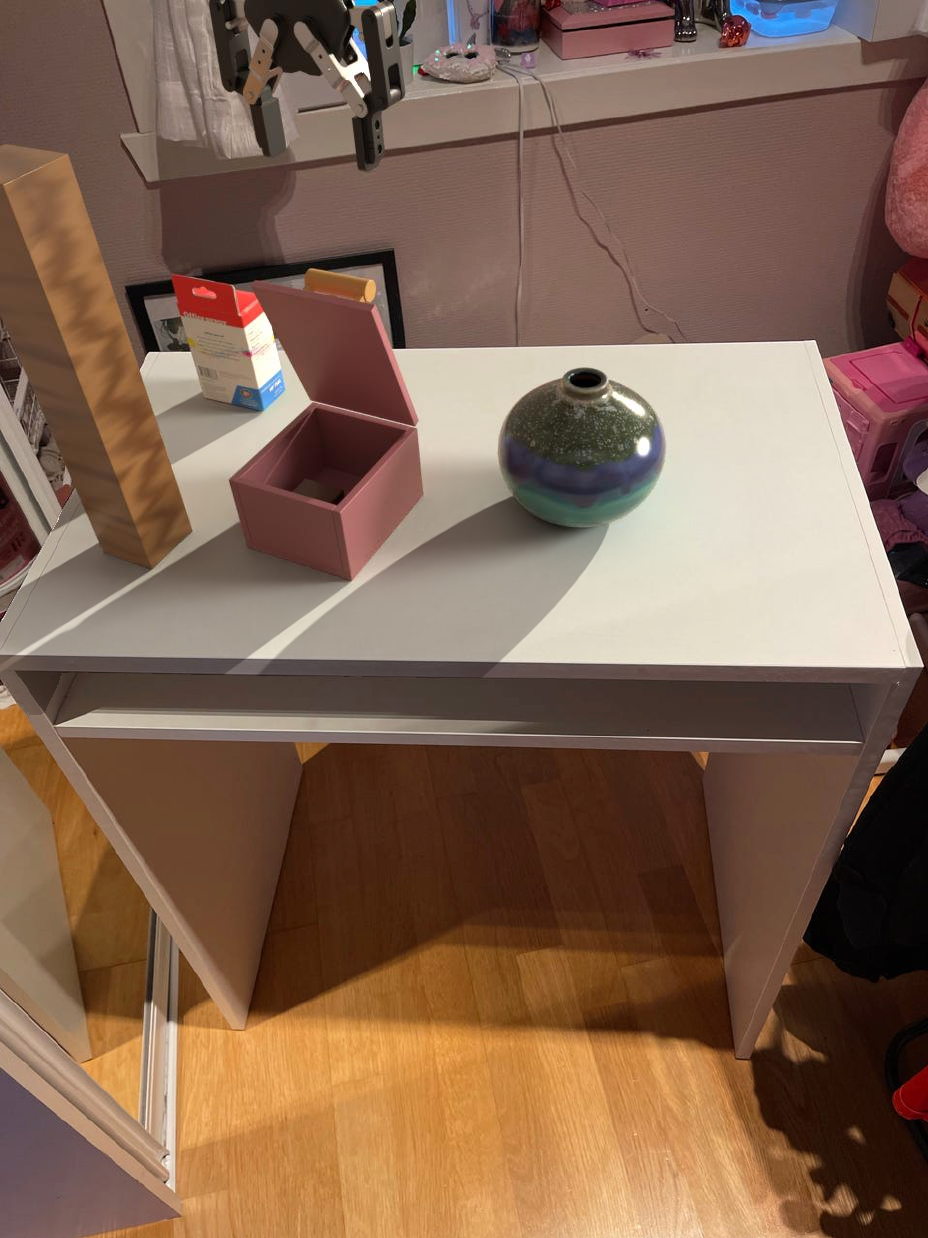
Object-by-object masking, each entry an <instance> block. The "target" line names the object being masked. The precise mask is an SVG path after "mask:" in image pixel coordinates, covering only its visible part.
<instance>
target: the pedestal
mask: <svg viewBox="0 0 928 1238" xmlns="http://www.w3.org/2000/svg"><path fill="white" fill-rule="evenodd" d="M101 252H102V251H101V249H100V247H99V243H98V241H97V237H96V234H95V231H94V228H93V226H92V222H91V220H90V216H89V213H88V210H87V207H86V204H85V201H84V198H83V195H82V192H81V189H80V185H79V183H78V180H77V177H76V174H75V170H74V168H73V164H72V162H71V159H70V156H69V154H68V153H66V152H65V153H64V152H59V151H51V150H46V149H40V148H33V147H27V146H20V145H14V144H7V143H5V144H3V145H1V146H0V318H1V320H2V322H3V324H4V327H5V330H6V331H7V334H8V336H9V338H10V340H11V344H12V345H13V348H14V350H15V352H16V354H17V356H18V359H19V362H20V364H21V366H22V368H23V371H24V373H25V375H26V377H27V380H28V382H29V385H30V387H31V389H32V391H33V394H34V396H35V398H36V401H37V403H38V406H39V408H40V410H41V412H42V414H43V416H44V417H43V418H44V420H45V421H46V425H47V426H48V428H49V430H50V433H51V435H52V438H53V440H54V442H55V444H56V447H57V449H58V452H59V454H60V456H61V458H62V461H63V463H64V465H65V468H66V470H67V472H68V475H69V477H70V479H71V482H72V484H73V486H74V489H75V490H76V493H77V495H78V497H79V500H80V503H81V504H82V508H83V509H84V511H85V514H86V516H87V518H88V521H89V523H90V526H91V528H92V530H93V533H94V534H95V537H96V539H97V542H98V544H99V546H100V548H101V550H102V551H101V552H103V553H105V554H108V555H110V556H114V557H116V558H119V559H122V560H125V561H128V562H131V563H133V564H136V565H139V566H141V567H145V568H148V569H150V570H153V569H154V568H156V566H158V564H160V562H162V561H163V560H164V559H165V558H166V557H167V556H168V555H169V554H170V553H171V552H173V550H174V549H175V548H176V547H178V546H179V545H180V544H181V543H182V542H183V541H185V539H186V538H188V536H189V535H190V534H191V533H193V531H194V529H193V527H192V524H191V521H190V518H189V515H188V511H187V508H186V506H185V502H184V500H183V497H182V494H181V491H180V488H179V484H178V481H177V479H176V475H175V473H174V470H173V465H172V463H171V462H170V461H171V460H170V458H169V455H168V452H167V449H166V446H165V442H164V439H163V436H162V434H161V430H160V428H159V424H158V421H157V419H156V415H155V412H154V410H153V407H152V403H151V399H150V397H149V393H148V390H147V388H146V386H145V383H144V379H143V376H142V373H141V370H140V368H139V363H138V361H137V358H136V355H135V352H134V349H133V346H132V343H131V340H130V337H129V334H128V331H127V328H126V324H125V322H124V318H123V316H122V313H121V309H120V307H119V304H118V301H117V298H116V295H115V291H114V289H113V286H112V281H111V280H110V276H109V273H108V270H107V267H106V264H105V262H104V258H103V256H102V253H101Z"/></svg>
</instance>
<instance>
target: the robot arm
mask: <svg viewBox="0 0 928 1238" xmlns="http://www.w3.org/2000/svg"><path fill="white" fill-rule="evenodd" d="M208 9H209V15H210V21H211V27H212V33H213V39H214V45H215V51H216V52H215V53H216V57H217V63H218V69H219V74H220V81H221V85H222V88H223V89H224V90H225V91H226V92H228V93H234V92H235V93H237V94H239V95H241V96H242V97H243V98H244V100H245V102H246V103H247V104H248V105H249V110H250V115H251V120H252V124H253V130H254V135H255V141H256V143H257V145H258V147H259V148H260V149H261V151H262V152H261V153H262V155H263V156H264V157H266V158H271V159H275V158H276V157H279V156H280V155H281V154H283V153H284V152H285V151H286V149H287V141H286V136H285V129H284V123H283V119H282V118H283V117H282V112H281V106H280V101H279V97H276V96H274V94H275V92H276V91H277V88H278V85H279V84H280V80H281V78H282V75H284V74H294V73H298V72H302V73H304V74H306V75H308V76H313V77H321V76H324V78H325V79H326V81H327V82H328V84H329V85H330V86H331V87H332V89H334V90H335V91H338V92H339V93H340V94H341V95H342V97H343V98H344V99H345V101H346V104H348V106H349V107H350V109H351V111H352V112H353V113H354V116H353V117H351V123H352V124H351V125H352V133H353V139H354V140H353V141H354V149H355V157H356V165H357V166H356V167H357V169H358V171H359V172H365V173H370V172H372V171H373V170H374V169H377V167H379V166H380V164H381V160H382V159H384V157H385V153H386V147H385V137H384V128H383V117H382V115H383V112H384V111H386V110H387V109H389V108H390V107H392V106H393V105H395V104H396V103H399V102H401V101H402V100H404V98H405V96H406V86H405V79H404V71H403V62H402V57H401V56H402V55H401V47H400V38H399V32H398V23H397V15H396V9H395V6H394V5H393V3H392V2H391V1H390V0H383V1H381V2H378V3H375V4H373V5H372V4H370V5H356V2H355V1H354V0H208ZM249 26H250V27H251V29H252V31H253V32H254V33H255V35H256V36H257V38H258V41H257V44H256V46H255V48H254V51H253V54H252V51H251V44H250V37H249V30H248V28H249ZM355 30H356V31H357V32H358V36H357V37H358V40H359V41H360V42H363V43H364V48H365V54H366V58H365V56H364V55H363V54H362V52H361V50H360V49H359V47H358V45H357V44H356V42H355V41H354V40H353V38H352V37H353V34H354V32H355ZM342 60H343V61H344V63H345V64H346V66H343V65H341V64H340V63H341V62H342Z"/></svg>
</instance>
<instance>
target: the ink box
mask: <svg viewBox="0 0 928 1238" xmlns="http://www.w3.org/2000/svg"><path fill="white" fill-rule="evenodd" d="M171 283H172V286H173V290H174V293H175V297H176V306H177V310H178V313H179V316H180V320H181V322H182V327H183V329H184V333H185V336H186V340H187V343H188V347H189V350H190V353H191V357H192V361H193V365H194V367H195V370H196V374H197V377H198V381H199V385H200V386H201V387H200V388H201V391H202V394H203V397H204V398H206V399H208V400H209V399H210V400H213V401H218V402H221V403H226V404H230V405H235V406H239V407H243V408H246V409H247V408H248V409H252V410H256V411H261V412H265V411H266V410H267V409H268V408H269V407H270V406H271V405H272V404H273V403H274V402H275V401H276V400H277V399H279V397H281V395H282V394H284V393H285V391H286V385H285V381H284V376H283V371H282V366H281V363H280V362H281V361H280V358H279V355H278V349H277V345H276V341H275V336H274V330H273V328H272V326H271V324H270V323H269V321H268V319H267V317H266V315H265V313H264V311H263V309H262V307H261V305H260V304H259V302H258V300H257V298H256V296H255V294H254V292H249V291H244V290H240V289H239V290H238V289H236V288H235V286H234V285H233V284H229V283H224V282H219V281H218V282H217V281H213V280H209V279H203V278H197V277H194V276H193V277H192V276H186V275H181V274H175V273H171Z"/></svg>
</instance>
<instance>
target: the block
mask: <svg viewBox="0 0 928 1238" xmlns="http://www.w3.org/2000/svg"><path fill="white" fill-rule="evenodd" d="M293 493H296V494H300V495H303V496H306V497H310V498H313V499H317V500H320V501H323V502H327V503H330V504H333V505H336V506H337V505H338V504H339V503H340V502H341V501H342V500H343V499H344V498H345V495H344V490H343V489H341V488H337V487H334V486H330V485H327V484H323V483H320V482H316V481H312V480H309V479H304V480H303V481H302V482H301V483H300V484H299V485H298V486H297V488H296V489H295V490H294V491H293Z"/></svg>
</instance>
